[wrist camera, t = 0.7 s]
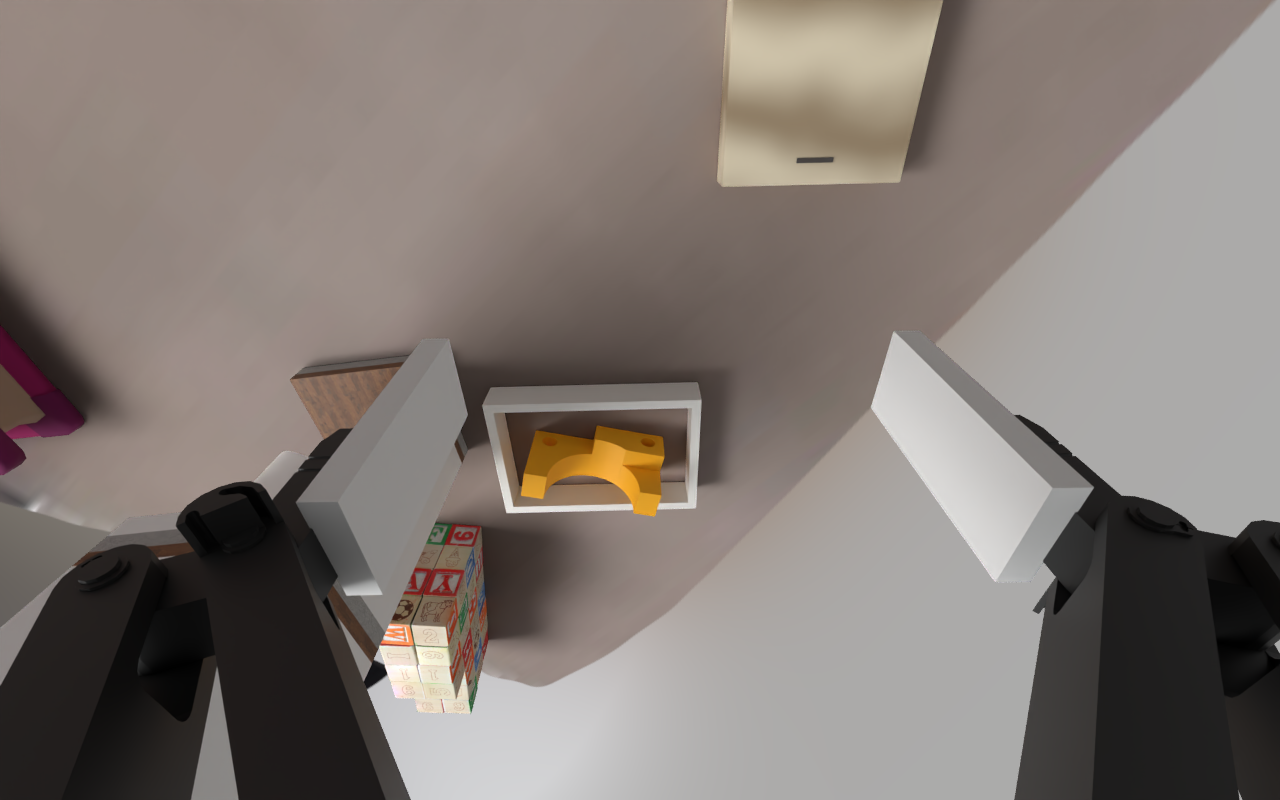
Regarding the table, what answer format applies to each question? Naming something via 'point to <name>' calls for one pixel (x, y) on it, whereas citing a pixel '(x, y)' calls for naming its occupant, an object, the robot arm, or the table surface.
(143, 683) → the robot arm
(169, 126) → the table surface
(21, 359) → the book
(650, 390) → the clamp rest frame
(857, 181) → the pine board
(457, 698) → the stack of blocks
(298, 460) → the white column with cutout
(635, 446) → the pipe clamp
